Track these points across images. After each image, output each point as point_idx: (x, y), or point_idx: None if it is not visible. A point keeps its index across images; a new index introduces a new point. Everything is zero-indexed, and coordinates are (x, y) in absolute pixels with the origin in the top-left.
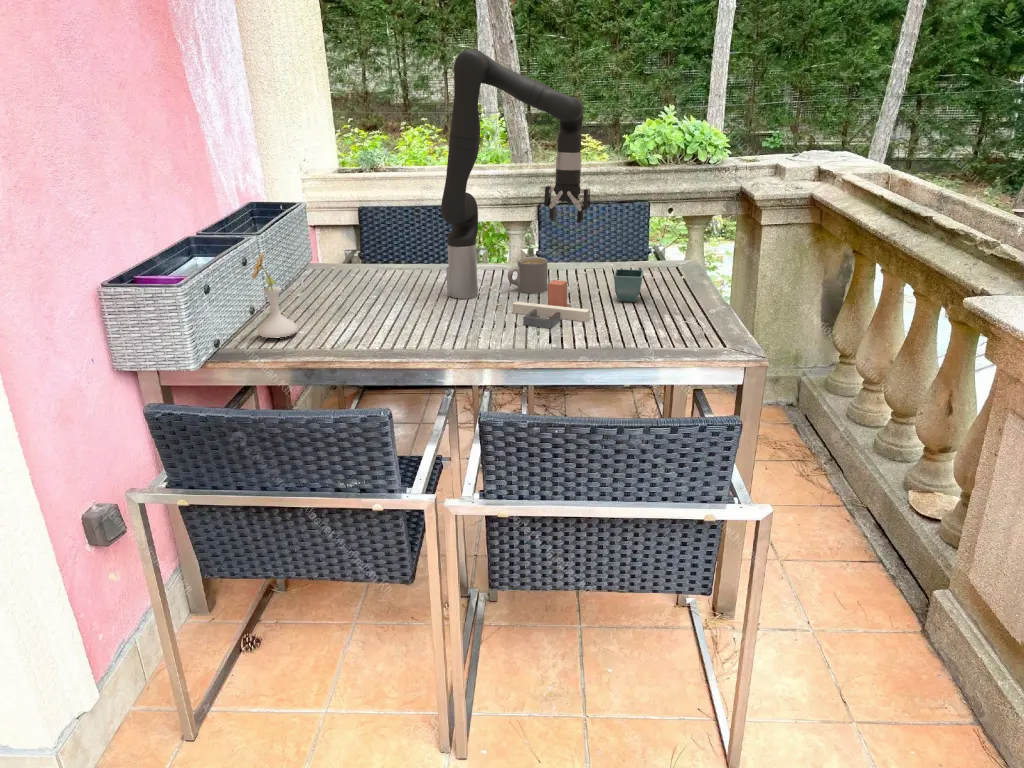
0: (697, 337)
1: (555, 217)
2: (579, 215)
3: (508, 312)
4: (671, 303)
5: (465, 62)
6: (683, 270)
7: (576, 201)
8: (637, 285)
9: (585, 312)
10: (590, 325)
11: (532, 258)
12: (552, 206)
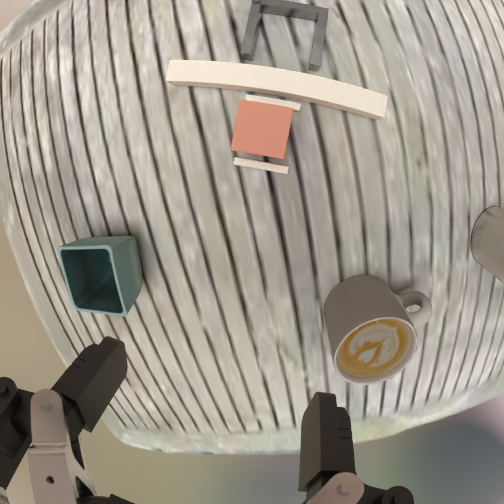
0: (17, 76)
1: (303, 428)
2: (80, 373)
3: (390, 106)
4: (56, 244)
5: None
6: (110, 412)
7: (30, 461)
8: (77, 241)
9: (173, 60)
10: (167, 48)
11: (375, 379)
12: (331, 490)
